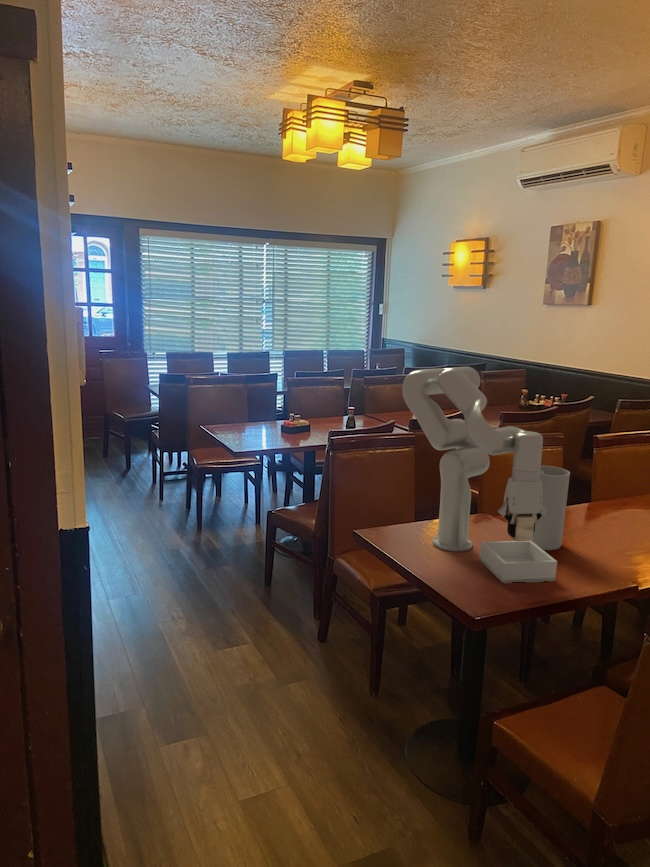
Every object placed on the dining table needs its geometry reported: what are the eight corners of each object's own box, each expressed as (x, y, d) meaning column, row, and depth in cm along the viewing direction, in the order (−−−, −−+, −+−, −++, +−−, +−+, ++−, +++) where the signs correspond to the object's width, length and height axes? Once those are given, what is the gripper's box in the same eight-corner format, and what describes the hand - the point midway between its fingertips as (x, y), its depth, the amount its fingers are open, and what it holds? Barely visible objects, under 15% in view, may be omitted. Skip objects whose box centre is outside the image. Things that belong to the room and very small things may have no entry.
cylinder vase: (514, 543, 206) (521, 469, 201) (532, 534, 215) (539, 463, 209) (550, 554, 197) (559, 478, 192) (567, 544, 206) (576, 471, 201)
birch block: (508, 535, 184) (510, 512, 183) (524, 534, 185) (526, 511, 184) (516, 541, 180) (518, 518, 178) (532, 540, 180) (534, 517, 179)
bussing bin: (479, 560, 191) (481, 541, 190) (528, 558, 194) (530, 540, 193) (502, 583, 176) (504, 563, 175) (555, 581, 178) (557, 561, 177)
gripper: (547, 470, 184) (541, 529, 187) (492, 472, 181) (487, 531, 185) (560, 477, 176) (554, 538, 180) (503, 479, 174) (498, 541, 177)
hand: (520, 534), depth 182 cm, fingers closed on birch block, 5 cm apart
